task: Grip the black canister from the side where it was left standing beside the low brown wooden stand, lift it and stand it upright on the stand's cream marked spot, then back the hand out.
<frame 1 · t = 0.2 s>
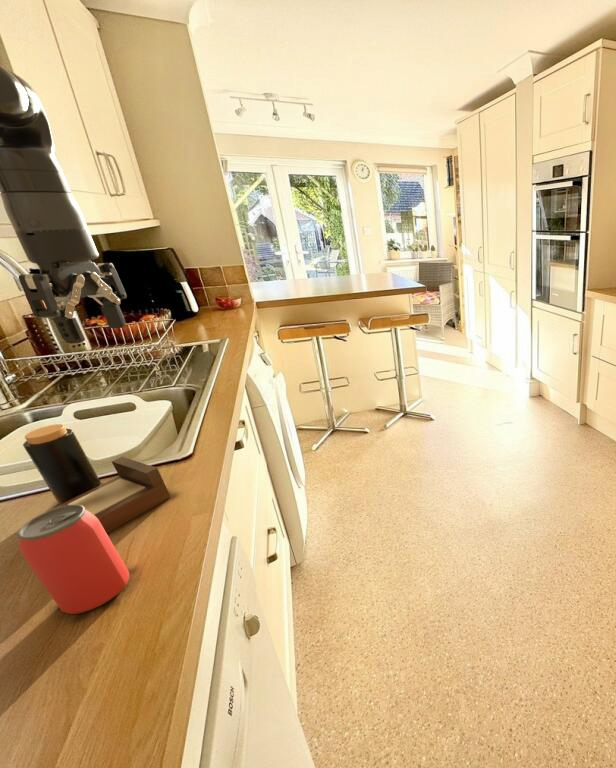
hand: (98, 334, 66), 27 cm above the countertop, tool pointing down, fingers open, 8 cm apart
brown wooden stand: (115, 511, 67), on the countertop
black canister: (82, 497, 71), on the countertop
beer can: (99, 594, 53), on the countertop
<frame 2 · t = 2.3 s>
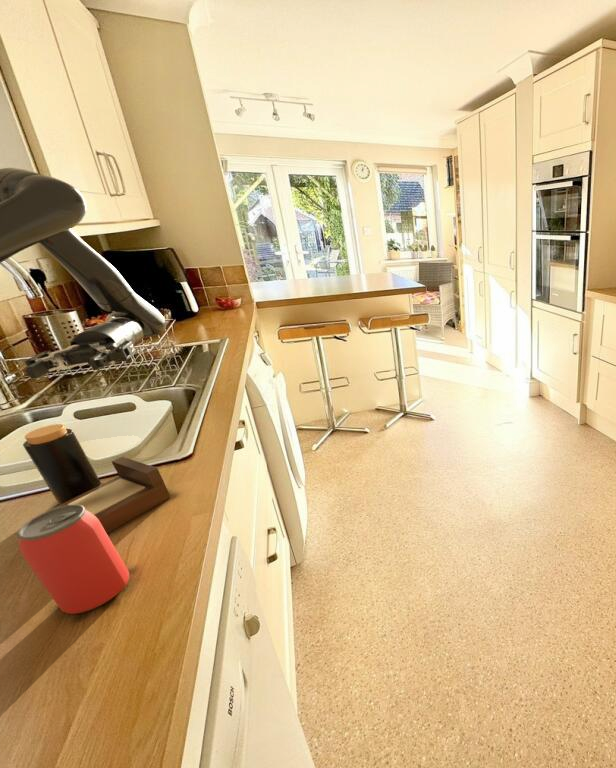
hand: (63, 369, 72), 20 cm above the countertop, tool horizontal, fingers open, 8 cm apart
nothing on the countertop moved.
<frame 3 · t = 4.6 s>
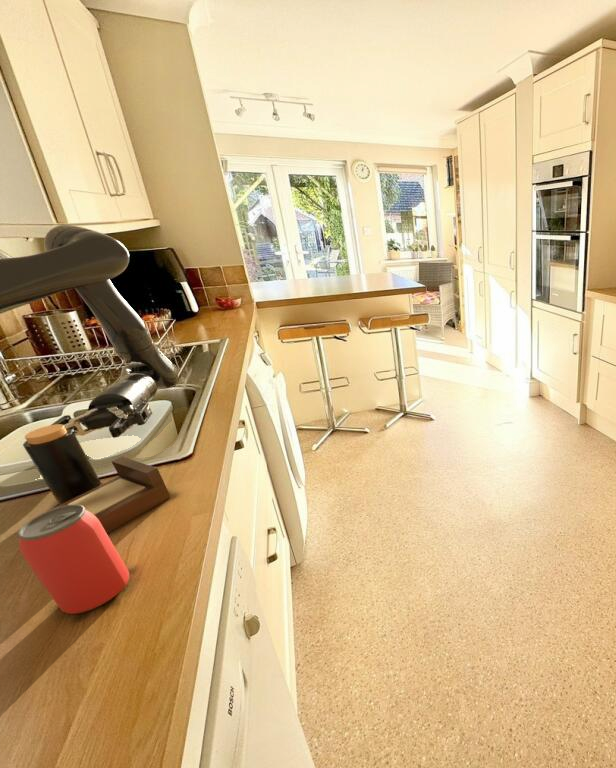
hand: (83, 438, 74), 8 cm above the countertop, tool horizontal, fingers open, 8 cm apart
nothing on the countertop moved.
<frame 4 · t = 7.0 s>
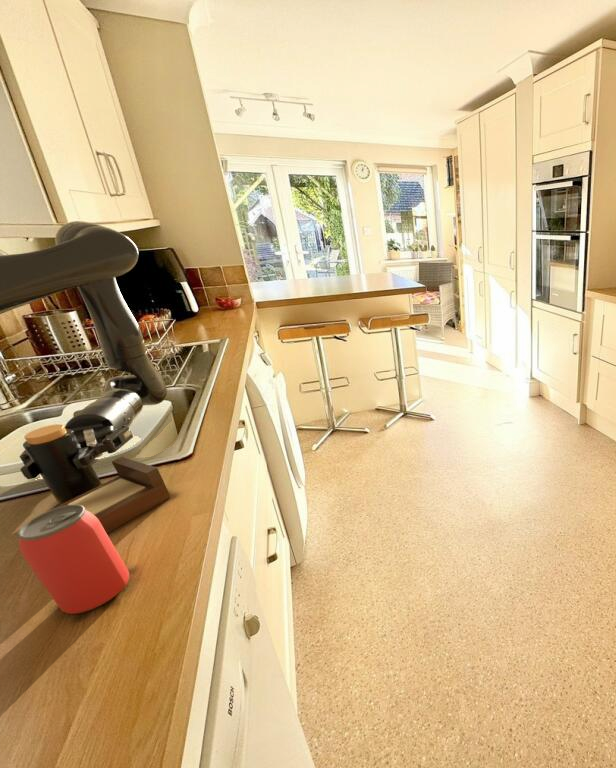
hand: (53, 468, 66), 8 cm above the countertop, tool horizontal, fingers closed on black canister, 5 cm apart
black canister: (82, 497, 71), on the countertop, touching gripper
everything else where it was.
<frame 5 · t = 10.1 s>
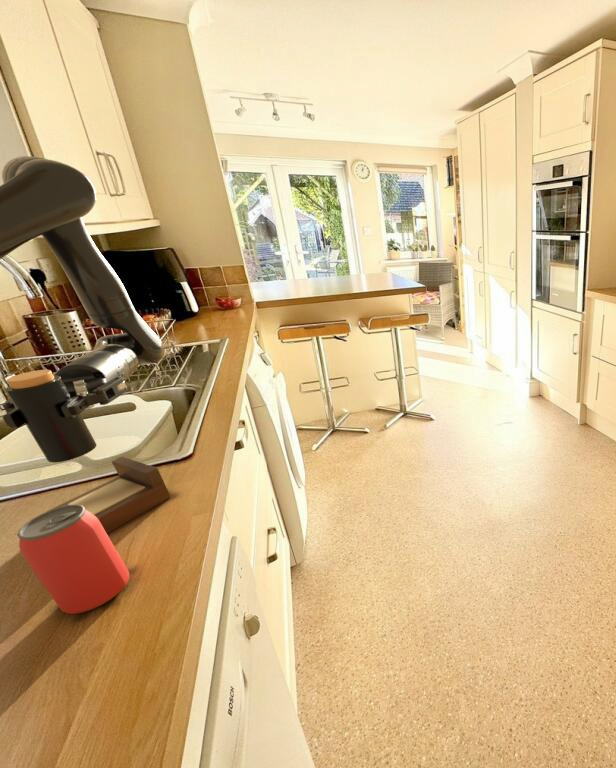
hand: (39, 417, 60), 18 cm above the countertop, tool horizontal, fingers closed on black canister, 5 cm apart
black canister: (72, 452, 65), point 10 cm above the countertop, touching gripper
everything else where it was.
when the fingers open (11 cm above the countertop, at t = 13.2 s): black canister stays where it is, resting on brown wooden stand.
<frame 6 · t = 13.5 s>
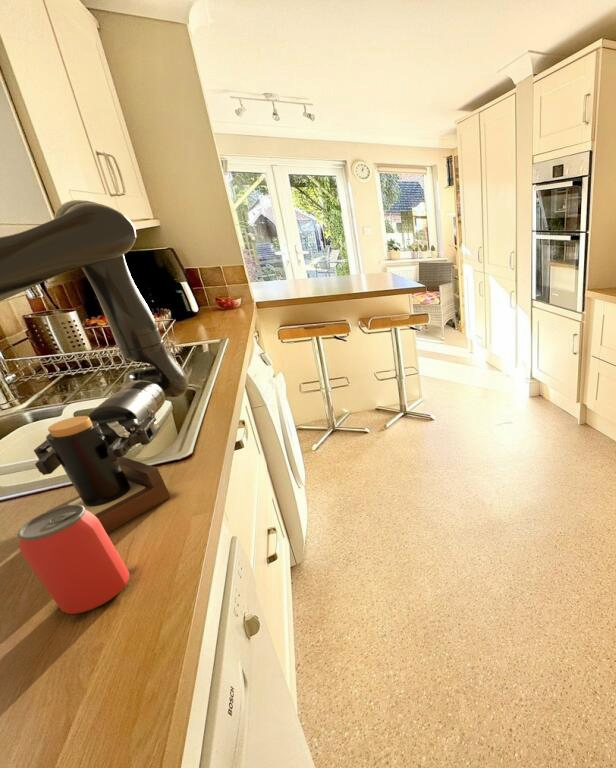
hand: (78, 462, 61), 11 cm above the countertop, tool horizontal, fingers open, 7 cm apart
black canister: (108, 494, 66), point 3 cm above the countertop, touching brown wooden stand
everything else where it was.
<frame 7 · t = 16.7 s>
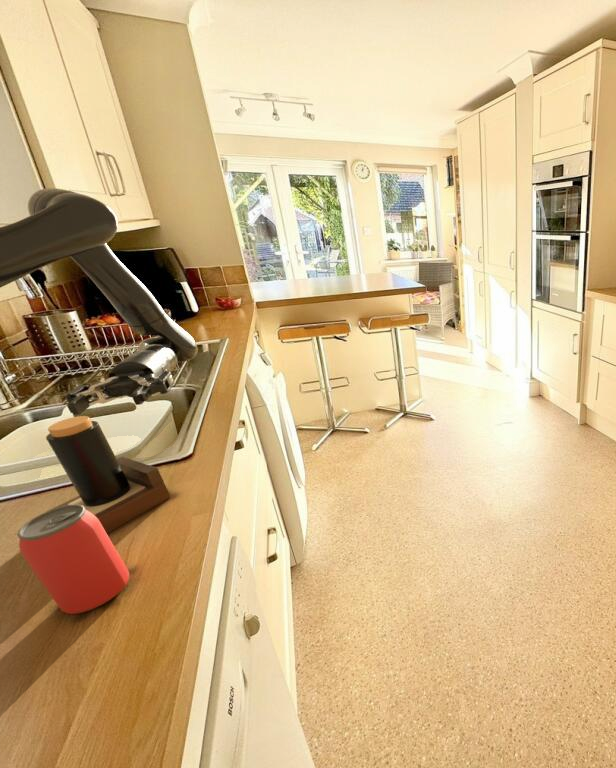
hand: (105, 404, 70), 15 cm above the countertop, tool horizontal, fingers open, 8 cm apart
nothing on the countertop moved.
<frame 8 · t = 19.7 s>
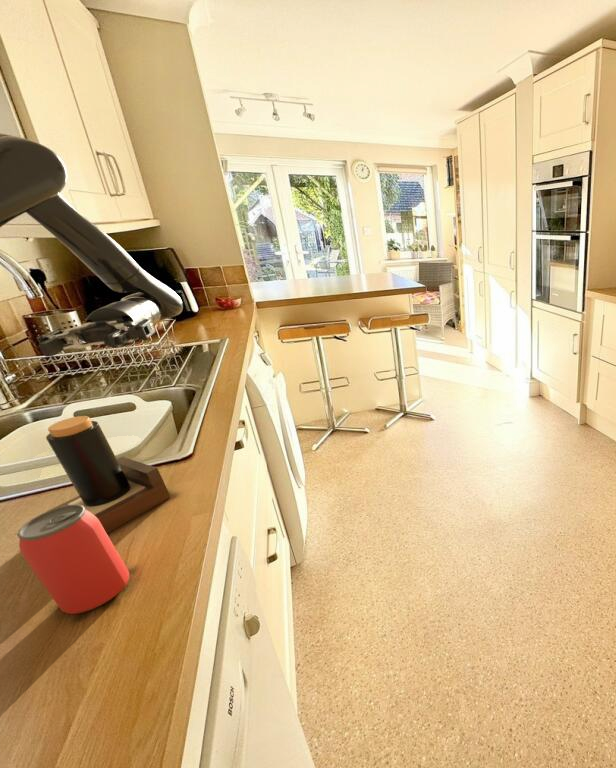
hand: (79, 346, 67), 25 cm above the countertop, tool horizontal, fingers open, 8 cm apart
nothing on the countertop moved.
at the end: black canister 0.1 cm off-centre on the brown wooden stand, point 3.2 cm above the brown wooden stand's base; black canister tilted 0°; the gripper is holding nothing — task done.
